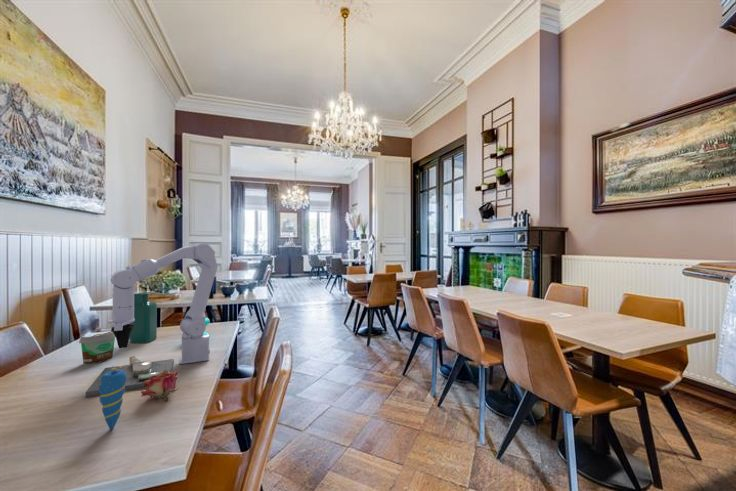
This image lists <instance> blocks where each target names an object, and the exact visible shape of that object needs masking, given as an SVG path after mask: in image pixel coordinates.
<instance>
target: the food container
mask: <svg viewBox="0 0 736 491" xmlns="http://www.w3.org/2000/svg"><path fill="white" fill-rule="evenodd" d="M115 339H116V337H115V335H114V333H113V332H112V330H111V329H110V331H107V332H103V333H98V334H94V335H92V336H81V337H80V338H79V342H78V343H79V344H80V345H81V354H82V364H83V365H89V364H90V365H91V364H92V365H93V364H98V363H103V362H106V361H109V360H111V359H113V357H114V349H115V341H116V340H115Z"/></svg>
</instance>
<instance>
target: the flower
mask: <svg viewBox="0 0 736 491" xmlns="http://www.w3.org/2000/svg"><path fill="white" fill-rule="evenodd" d="M178 374H179V370H175V371H171V372H170V373H168V371H167V370H164V371H163V372H162V373H159V374H158V375H154V376H152V377H151V378H150V380H146V381H144V383H143V385H144V386H145V387H146V388H145V390H140V393H141V395H140V397H146V396H149V397H150V398H151V399H154V400H156V399H160V398H162V397H163V399H164V401H165V402H168V401H169V399H168V397H169V396H170V394H174V393H175V392H176V391H178V388H176V387H177V380H178Z"/></svg>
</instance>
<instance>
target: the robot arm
mask: <svg viewBox="0 0 736 491" xmlns="http://www.w3.org/2000/svg"><path fill="white" fill-rule="evenodd" d="M215 251H216V250H214V249H213V247H212V246H211V245H210V244H208V243H205V242H203V243H197V242H196V243H192V244H190V245H186V246H183V247H180V248H178V249H176V250H174V251H172V252H169V253H167V254H165V255H163V256H161V257H159V258H157V259H152V258H147V259H146V258H142V259H141V260H140V262H137V263H136V264H135V263H134V264H133V265H131V266H130V265H127V266H125V269H120V270H118V271H116V272H114V273H113V274H112V275H111V278H110V282H111V284H112V285H113V288H112V291H113V292H112V319H110V320H108V321H107V324H112V327H111V328H110V331H111V330H112V332H113V333H114V335H115V339H116V340H115V341H116V343H117V346H118V349H127V347H128V346H129V343H130V342H129V339H130V335H131V332H132V329H133V327H134V326H135V324H130V323H132V322H134V321H135V318H134V294H135V291H134V290H135V288H134V287H135V285H136V284H137V283H138V282H141V281H143V280H146V279H147V278H150V277H152V276H154V275H156V274H158V273H159V271H160V269H161V268H163V267H166V266H169V265H171V264H174V263H175V262H177V261H181V260H182V259H191V260H193V261H195V262H196V263H197V265H198V266H199V267H200V269H201V271H200V275H199V277H198V280H197V283H196V287H195V291H194V293H193V297H192V300H191V305H190V307H189V309H188V311H187V312H186V313H185V315H184V318H183V319H182V320H181V321H180V324H179V329H180V330H181V332H182V334H181V356H180V360H179V365H184V364H185V365H186V364H191V363H198V362H199V363H200V362H206V361H209V360H210V359H209V358H210V352H211V349H210V337H209V336H210V334H209V335H203V333H204V332H206V326H205V320H206V318H207V317H206V307H207V305H208V302H209V299H210V295H211V291H212V287H213V284H214V280H215V276H216V273H217V270H218V263H217V259H216V252H215Z"/></svg>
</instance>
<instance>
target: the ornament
mask: <svg viewBox="0 0 736 491" xmlns="http://www.w3.org/2000/svg"><path fill="white" fill-rule="evenodd" d="M111 367H115V368H112V369H111V371H110V372H107V373H105V374H103V375H102V377H101V385H100V386H99V388H98V390H99V393H100V394H101V395H100V396H99V397H100V398H99V402H100V404H101V405H102V408H101V409H102V410H101V411H102V415H103V417H104V419H105V422H106V424H107V426H108V429H109V430H114V428H115V426H116V424H117V422H118V420H119V417H120V415H121V410H122V409H121V408H122V404H123V401H124V399H123V396H124V394H125V392H126V391H125V382H126V379H127V376H126V373H125V372H124V371H122V370H116V366H114V365H112V366H111Z"/></svg>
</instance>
